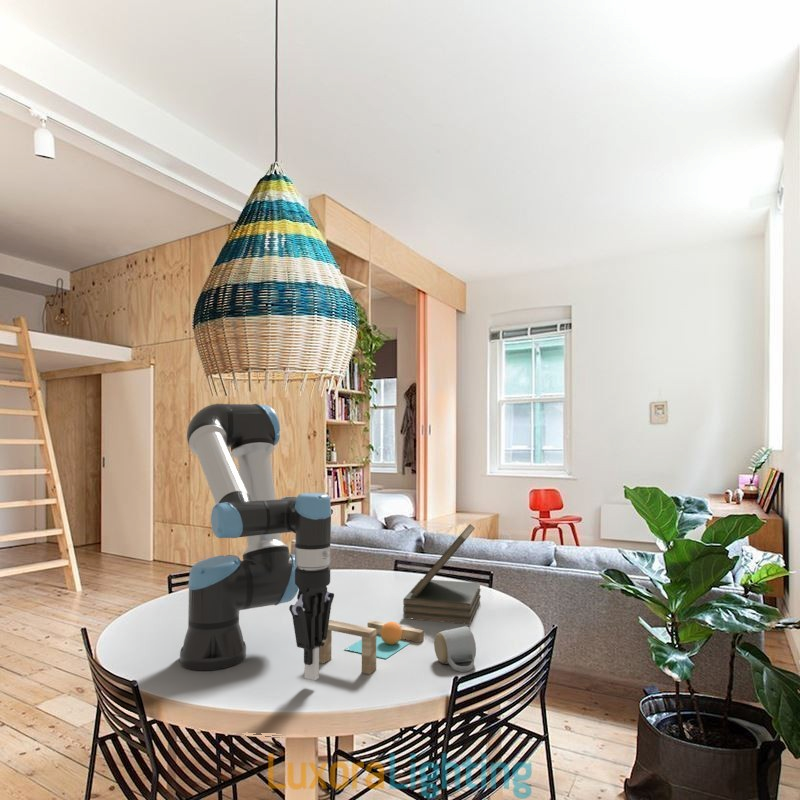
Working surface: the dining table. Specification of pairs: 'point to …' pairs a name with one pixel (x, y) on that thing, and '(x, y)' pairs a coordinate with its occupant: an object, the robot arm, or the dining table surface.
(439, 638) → the ceramic mug
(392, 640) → the ball
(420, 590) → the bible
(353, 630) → the bridge
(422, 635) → the stopper
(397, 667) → the dining table surface
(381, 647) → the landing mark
